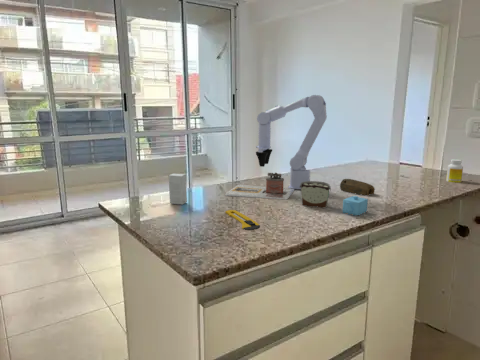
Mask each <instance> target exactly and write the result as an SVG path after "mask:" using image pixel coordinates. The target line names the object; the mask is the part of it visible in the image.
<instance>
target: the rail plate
mask: <svg viewBox="0 0 480 360" xmlns="http://www.w3.org/2000/svg"><path fill="white" fill-rule="evenodd" d="M295 190H296V189H290V188H288V187H285V188H284V187H283V193H286V194H268V193H266V186H259V185H248V184H246V185H245V184H237V185H235V186H234V187H233V188H231V189H230V190H228V191H226V192H225V194H224V196H227V197H239V198H255V199H275V200H289V198H290V197H291V195H292V194H293V193H294V191H295Z"/></svg>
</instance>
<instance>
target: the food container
mask: <svg viewBox="0 0 480 360" xmlns="http://www.w3.org/2000/svg"><path fill="white" fill-rule="evenodd" d="M300 187H301V189H300V192H301V193H300V195H301V206H302V205H307V206H306V207H313V206H318V207H317V208H323V207H326V208H327V206H328V201H329V195H330V194H329V193H330V192H331V191H332V188H331V187H332V186H331V184H330V183H328V182H324V181H318V180H317V181H315V180H310V181H306V182H302V183H301V184H300ZM300 187H299V188H300Z"/></svg>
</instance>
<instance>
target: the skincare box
mask: <svg viewBox="0 0 480 360" xmlns="http://www.w3.org/2000/svg"><path fill="white" fill-rule="evenodd" d="M168 191H169V194H168V195H169V204H171V203H172V204H173V205H181V206H182V205H184V204H186V203H188V197H187V196H188V195H187V193H188V191H187V174H186V173H171V174H169V175H168Z"/></svg>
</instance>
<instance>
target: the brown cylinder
mask: <svg viewBox="0 0 480 360" xmlns="http://www.w3.org/2000/svg"><path fill="white" fill-rule="evenodd" d="M339 188H340V190H341V191H343V192H346V193H350V192H351V193H352V194H355V193H356V195H360V194H362V195H361V196H365V195H369V194H373V195H375V189H376V188H375V186H374V185H372V184H371V183H367V182H365V181H359V180H356V179H351V178H343V179H342V180H341V181H340V184H339ZM369 196H370V195H369Z"/></svg>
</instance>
